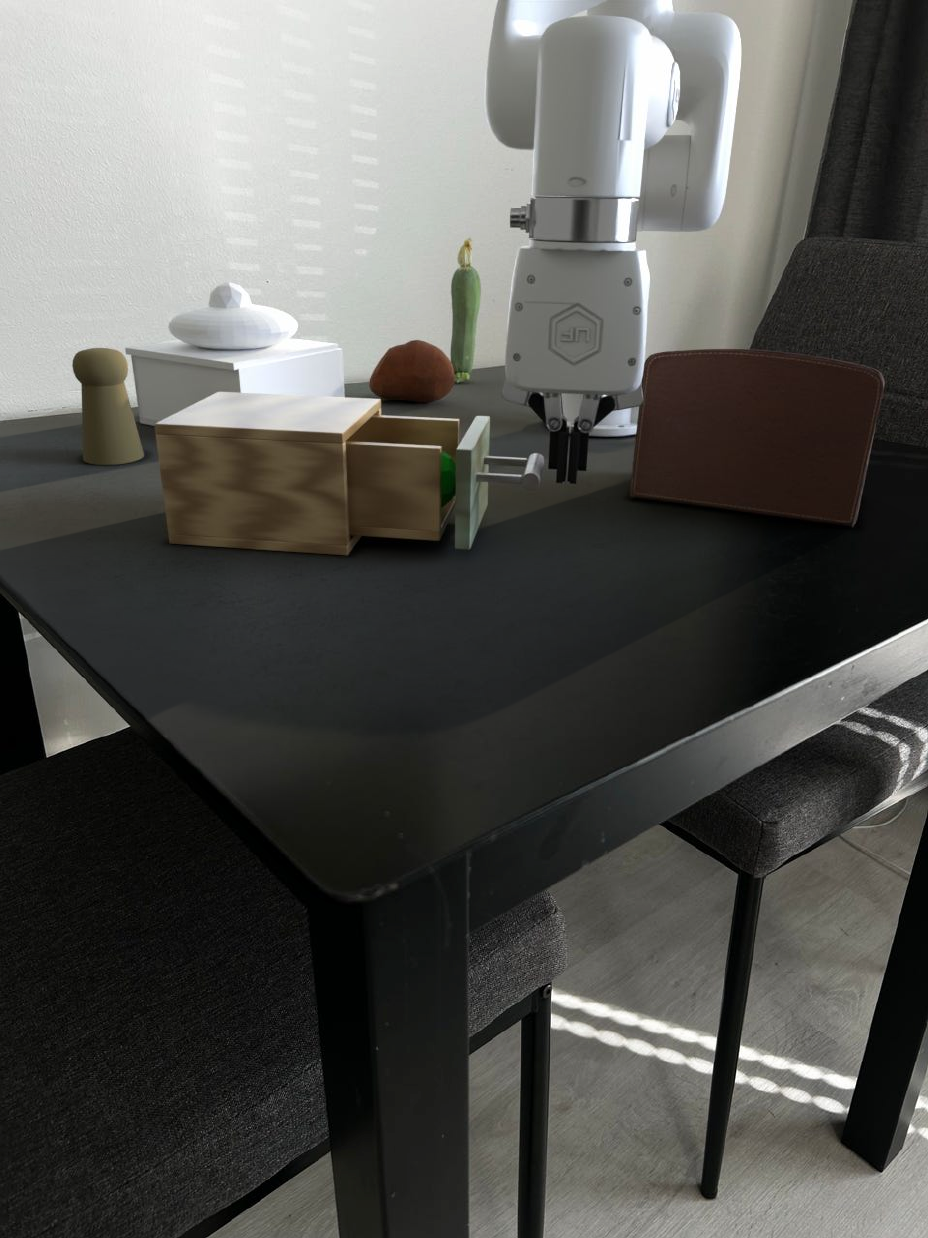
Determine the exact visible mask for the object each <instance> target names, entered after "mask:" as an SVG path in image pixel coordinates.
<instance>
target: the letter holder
mask: <svg viewBox="0 0 928 1238" xmlns="http://www.w3.org/2000/svg"><path fill="white" fill-rule="evenodd" d="M641 384H642V391H643V398H644V401H643V403H642V404H641V405H640V406H639V413H638V422H637V430H636V434H635V440H634V441H635V442H634V451H633V460H632V469H631V471H632V472H631V480H630V487H629V496H630V497H631V499H635V500H644V501H646V500H647V501H653V502H663V503H670V504H679V505H687V506H694V507H701V508H708V509H709V508H710V509H716V510H717V509H718V510H725V511H733V512H740V513H743V514H745V513H746V514H752V515H753V514H754V515H760V516H768V517H776V518H783V519H791V520H797V521H805V522H811V523H819V524H829V525H834V526H835V525H836V526H843V527H848V528H854V525H855V524H856V522H857V520H858V517H859V510H860V507H861V501H862V495H863V490H864V487H865V480H866V476H867V471H868V466H869V461H870V458H871V457H870V455H871V450H872V445H873V442H874V435H875V430H876V428H877V427H876V426H877V422H878V421H877V420H878V418H879V417H878V416H879V413H880V407H881V405H882V403H881V402H882V399H883V394H884V389H885V378H884V376H883V374H882V372H881V371H879V370H878V369H876V368H873V367H870V366H866V365H862V364H857V363H853V362H849V361H844V360H839V359H835V358H829V357H823V356H822V357H821V356H814V355H809V354H808V355H807V354H802V353H801V354H800V353H793V352H784V351H776V350H767V349H766V350H764V349H753V348H752V349H751V348H700V349H684V350H667V351H666V350H665V351H660V352H656V353H652V354H650V355H649V356H648V357H646V358H645V361H644V370H643V376H642V380H641Z"/></svg>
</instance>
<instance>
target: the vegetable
mask: <svg viewBox="0 0 928 1238" xmlns="http://www.w3.org/2000/svg"><path fill="white" fill-rule="evenodd" d="M471 242H472V238H471V237H468V238H465V240H464V241H463V244H462V245H461V246H460V248H459V250H458V253H457V264H458V265H459V267H458V268H457V269H456V270H455V271H454V273H453V275H452V278H451V283H450V296H451V311H452V312H451V313H452V326H451V341H450V352H449V353H450V361H451V363H452V365H453V370H454V376H455V378H454V380H455V382H456V383H459V382H462V383H465V382H467V381H469V380H470V374H471V373H472V370H473V367H474V359H475V358H474V357H475V349H476V335H477V322H478V315H479V311H480V308H481V299H482V298H481V297H482V296H481V295H482V283H481V282H482V281H481V278H480V274H479V273H478V271H477V270H476V269H475V268H474V267H473V266H471V265H472V264H473V255H472V250H473V248H472V243H471Z"/></svg>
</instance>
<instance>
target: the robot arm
mask: <svg viewBox="0 0 928 1238" xmlns="http://www.w3.org/2000/svg"><path fill="white" fill-rule="evenodd" d="M584 11H586V15H580V16H579V15H578V16H575V15H577V14H580V13H581V12H584ZM740 35H741V34H740V30H739V28H738V26H737V24H736V22H735V21H734V20H733V19H732V18H731V17H730V16H728V15H727V14H726V15H725V14H723V13H718V12H712V11H711V12H709V11H708V12H707V11H697V12H696V11H695V12H693V11H691V12H688V11H687V12H676V11H674V8H673V0H497V2H496V7H495V11H494V15H493V22H492V29H491V35H490V40H489V41H490V42H489V48H488V53H487V60H486V68H485V77H484V91H483V92H484V93H483V94H484V97H483V98H484V99H483V101H484V112H485V119H486V123H487V126H488V128H489V131H490V132H491V134H492V137H494V139H495V140H496V141H497V142H499V143H500V144H501V145H502V146H504V147H506V148H507V149H508V148H509V149H510V150H516V151H533V154H532V175H531V179H532V180H531V196H534V197H530V202H526V205H521V206H520V207H510V213H509V228H514V229H519V230H520V231H525V234H528V239H529V244H528V245H522V246H518V249H517V252H516V257H515V261H514V267H513V272H512V277H511V283H510V292H509V301H508V303H509V304H508V311H507V324H506V338H505V354H504V372H505V373H504V374H505V380H504V383H503V387H502V391H501V398H502V399H503V400H504V401H506V402H510V403H513V404H517V405H520V406H522V407H527V408H530V409H531V410H532V411H533V412H534V414H535V415H537V416H538V418H539V419H540V420H541V421H542V423H544V424H545V425H546V428H547V429H548V430H549V444H548V445H549V446H548V465H547V469H548V470H556V474H555V475H556V477H555V483H556V484H563V483H564V482H566V480H567V482H568V483H569V485H577V481H578V479H577V478H578V472H579V471H580V472H587V465H588V455H589V454H588V453H589V440H590V439H589V438H590V437H601V438H603V437H604V438H610V437H611V438H612V437H613V438H614V437H628V436H634V435H635V436H636V430H637V422H638V413H639V406H640V405H641V404H642V403H643V401H644V398H643V391H642V384H641V381H642V376H643V370H644V363H645V361H646V350H647V349H646V347H647V335H648V334H647V332H648V309H649V299H650V298H649V296H650V289H651V288H650V286H651V274H650V269H649V266H648V259H647V251H646V249H644V248H639V247H637V245H636V243H637V242H636V241H637V234H638V233H637V232H639V233H640V232H671V233H680V232H684V233H690V232H693V233H694V232H702V231H705V230H706V231H707V230H709V229H710V228H712V227H713V226H714V225H715V224H716V222H718V220H719V218H720V216H721V214H722V211H723V208H724V204H725V199H726V194H727V186H728V181H729V180H728V179H729V172H730V162H731V156H732V155H731V154H732V148H733V138H734V130H735V123H736V122H735V121H736V114H737V104H738V96H739V87H740V80H741V79H740V77H741V66H742V42H741V36H740ZM675 121H681V122H684V123H686V124H687V125H688V126H689V128H690V134H666V133H667V132H668V129H669V128H670V127H672V126H673V124H674V122H675ZM566 478H567V479H566Z"/></svg>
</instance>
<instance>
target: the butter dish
mask: <svg viewBox="0 0 928 1238" xmlns="http://www.w3.org/2000/svg"><path fill="white" fill-rule="evenodd" d="M298 327H299V324H298V321H297V319H295V318H294V317H293V316H292V315H290V314H289V313H287V312H285V311H283V310H280V309H278V308H275V307H271V306H267V305H261V304H253V303H252V300H251V298H250V295H249V293H248V292H247V291H246V290H245V288H243V287H242V286H241V285H240V284H237V283H233V282H230V281H226V282H224V283H220V284H219V285H217V286H216V287H215V288H213V290H212V291H210V294H209V299H208V304H207V305H202V306H197V307H194V308H191V309H186V310H185V311H183V312H181V313H179V314H177V315H176V316H174V317H173V318H171V320H170V321H169V322H168V331H169V334H171V336H173V337H174V338H175V340H174V339H173V340H168V341H160V342H154V343H147V344H140V345H134V346H127V347H124V350H125V355H128V356H130V359H131V365H132V373H133V374H132V375H133V380H134V386H135V395H136V402H137V411H138V417H139V424H143V425H149V426H153V427H155V426H154V424H155V423H157V422H159V421H161V420H163V419H165V418H167V417H169V416H171V415H173V414H175V413H177V412H179V411H181V410H183V409H185V408H187V407H189V406H191V405H193V404H195V403H197V402H199V401H201V400H203V399H205V398H207V397H209V396H211V395H213V394H215V393H217V392H238V393H259V394H281V395H303V396H325V397H346V394H345V393H346V392H345V371H344V369H345V367H344V348H340V347H339V343H335V342H326V341H318V340H310V339H302V338H293V336H294V335H295V334H296V333H297V331H298Z"/></svg>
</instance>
